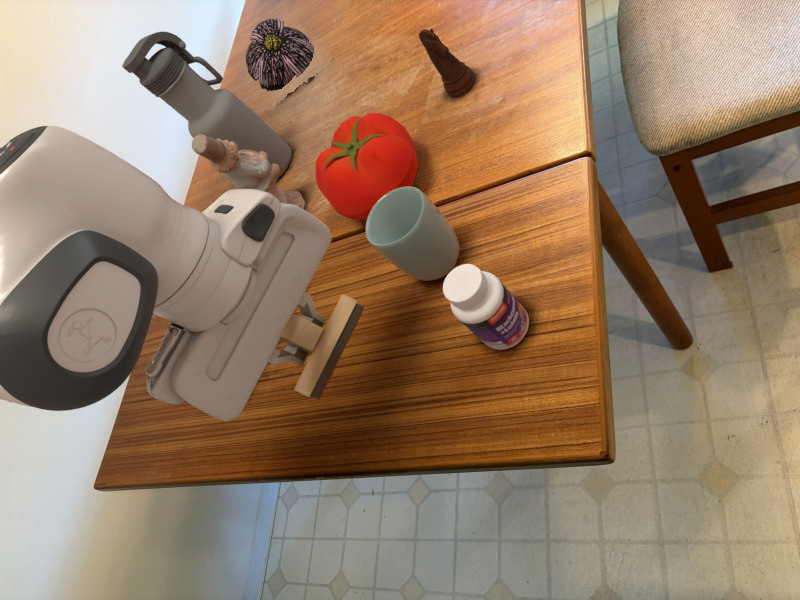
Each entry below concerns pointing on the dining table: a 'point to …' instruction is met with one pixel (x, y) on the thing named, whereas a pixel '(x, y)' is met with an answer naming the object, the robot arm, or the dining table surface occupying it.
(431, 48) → the chess piece
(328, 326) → the brush
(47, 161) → the robot arm
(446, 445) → the dining table surface
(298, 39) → the decorative flower
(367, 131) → the tomato
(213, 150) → the figurine
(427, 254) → the cup
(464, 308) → the pill bottle
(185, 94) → the water bottle
